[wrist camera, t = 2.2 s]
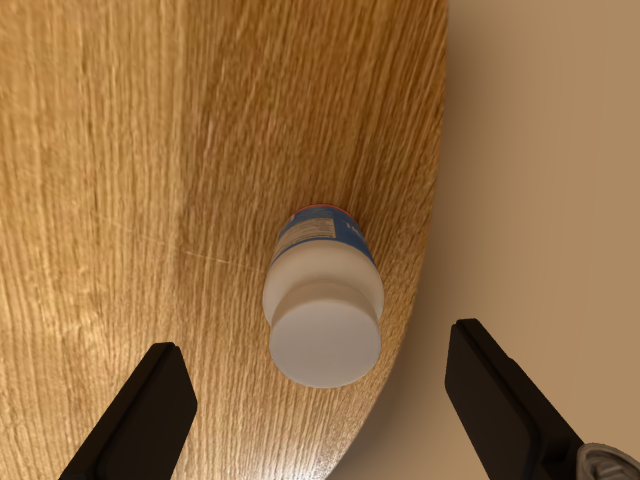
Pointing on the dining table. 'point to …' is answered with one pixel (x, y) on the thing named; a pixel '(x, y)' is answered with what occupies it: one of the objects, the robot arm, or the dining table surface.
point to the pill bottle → (323, 299)
